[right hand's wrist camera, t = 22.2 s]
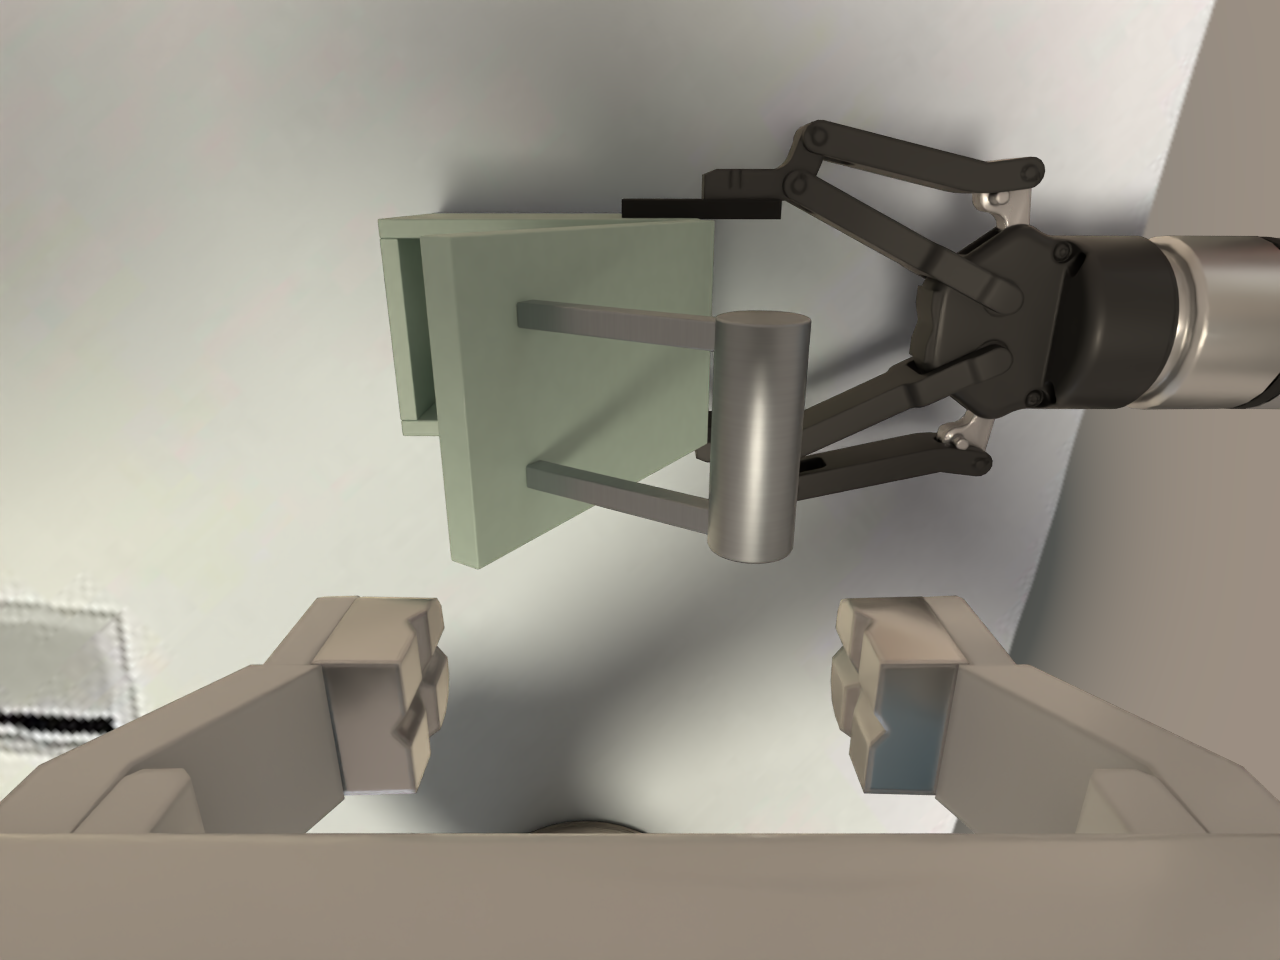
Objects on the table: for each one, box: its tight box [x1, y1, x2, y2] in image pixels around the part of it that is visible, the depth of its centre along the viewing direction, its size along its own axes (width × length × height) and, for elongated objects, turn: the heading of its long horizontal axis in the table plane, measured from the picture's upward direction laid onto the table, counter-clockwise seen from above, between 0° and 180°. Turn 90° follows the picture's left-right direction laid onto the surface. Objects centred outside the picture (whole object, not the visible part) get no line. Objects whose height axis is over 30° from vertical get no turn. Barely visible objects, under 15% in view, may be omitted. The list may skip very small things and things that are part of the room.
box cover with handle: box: [420, 220, 811, 569], centre depth 23 cm, size 14×9×9 cm
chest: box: [378, 213, 700, 436], centre depth 36 cm, size 13×9×9 cm
